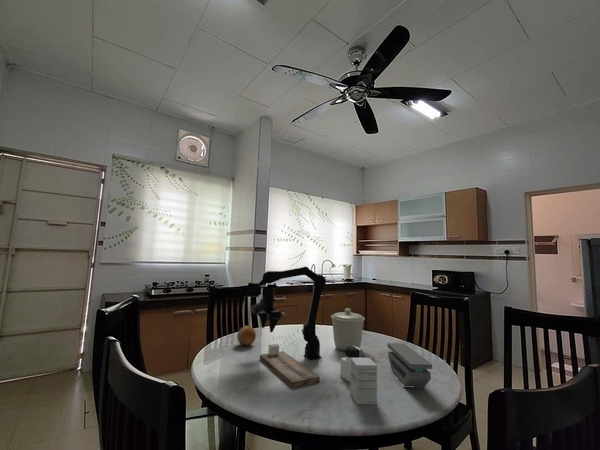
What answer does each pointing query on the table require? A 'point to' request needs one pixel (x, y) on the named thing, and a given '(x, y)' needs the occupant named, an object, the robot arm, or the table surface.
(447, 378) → the table surface
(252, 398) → the table surface
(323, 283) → the robot arm
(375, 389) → the supplement box
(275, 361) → the board
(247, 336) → the onion
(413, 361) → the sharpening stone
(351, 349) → the medicine bottle
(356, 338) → the canister
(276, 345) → the fader tab
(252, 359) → the table surface
